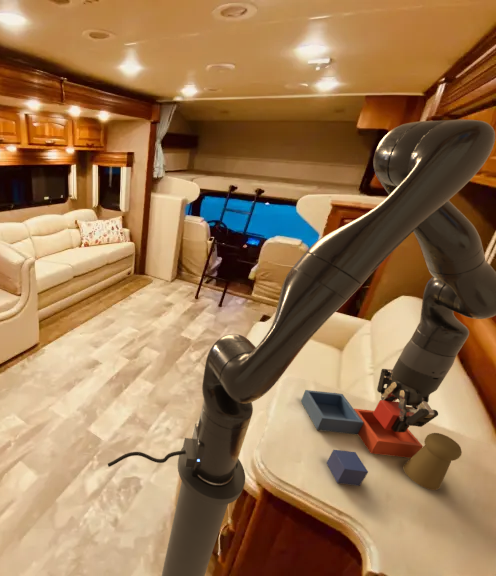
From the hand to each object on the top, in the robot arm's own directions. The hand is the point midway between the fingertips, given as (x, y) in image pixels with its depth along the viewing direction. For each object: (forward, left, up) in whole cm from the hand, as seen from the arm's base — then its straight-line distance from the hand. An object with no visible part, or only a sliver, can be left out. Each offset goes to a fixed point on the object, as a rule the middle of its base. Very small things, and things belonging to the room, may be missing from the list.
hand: (389, 421), depth 74 cm
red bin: (0, 0, -6) cm, 6 cm away
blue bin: (-10, +5, -6) cm, 12 cm away
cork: (+3, -9, -6) cm, 11 cm away
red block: (0, 0, 0) cm, 0 cm away
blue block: (-14, -11, -6) cm, 19 cm away
